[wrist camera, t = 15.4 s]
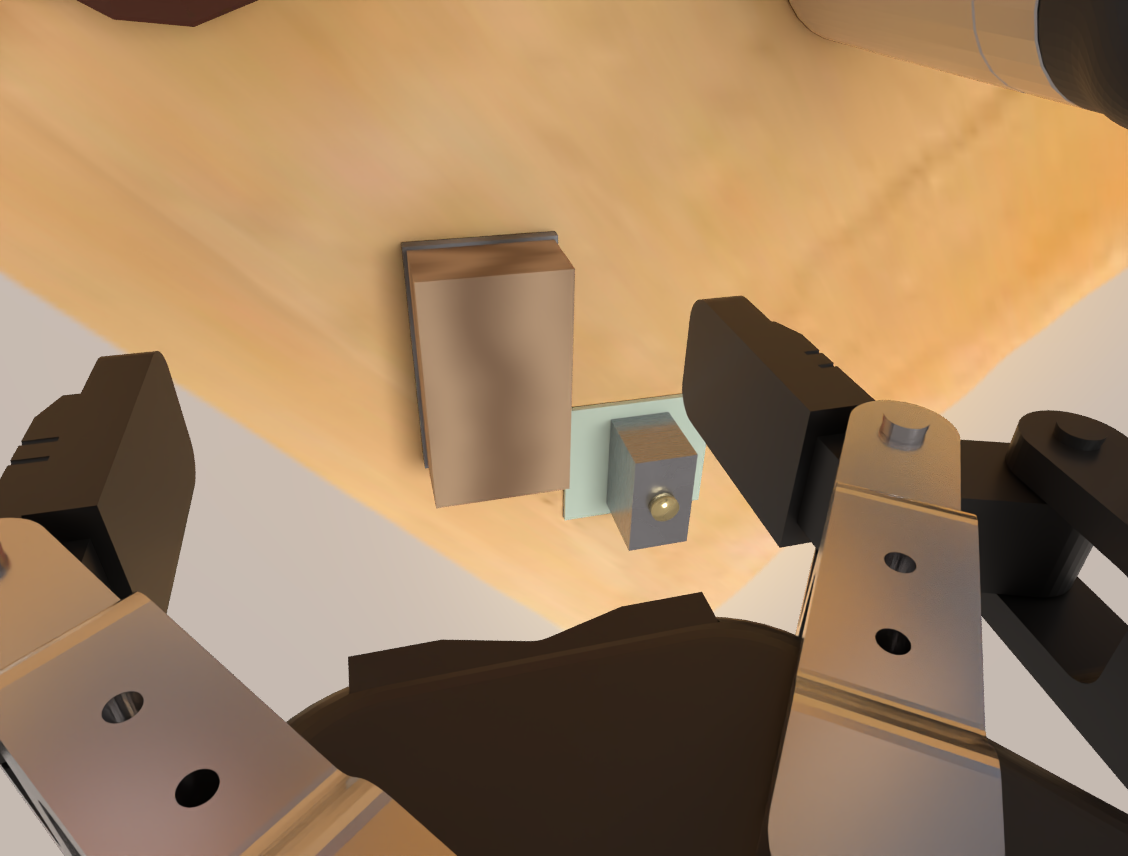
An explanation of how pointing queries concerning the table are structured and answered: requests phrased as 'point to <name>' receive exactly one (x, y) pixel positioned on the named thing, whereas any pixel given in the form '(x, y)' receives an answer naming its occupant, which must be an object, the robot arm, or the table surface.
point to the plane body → (492, 363)
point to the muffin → (166, 10)
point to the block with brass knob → (650, 480)
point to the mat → (594, 449)
